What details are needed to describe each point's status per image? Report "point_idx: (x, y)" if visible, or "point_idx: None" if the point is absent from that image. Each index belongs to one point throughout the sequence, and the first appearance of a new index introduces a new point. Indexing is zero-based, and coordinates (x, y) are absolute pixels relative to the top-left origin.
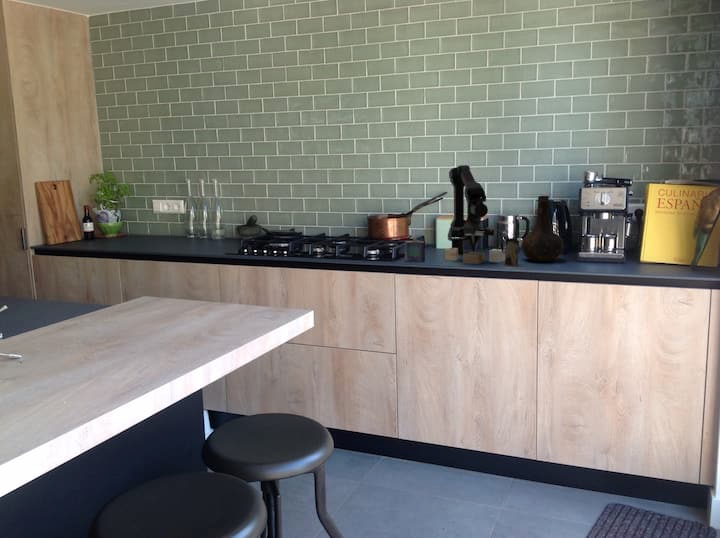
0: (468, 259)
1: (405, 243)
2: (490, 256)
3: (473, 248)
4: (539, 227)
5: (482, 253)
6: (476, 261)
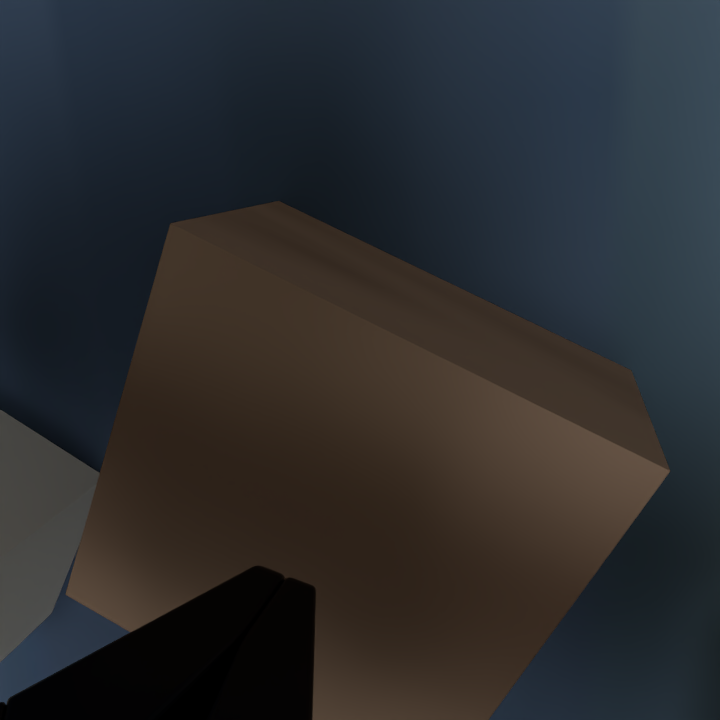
0: (485, 329)
1: None
2: (11, 513)
3: (254, 618)
4: None
5: (100, 526)
6: (285, 220)
